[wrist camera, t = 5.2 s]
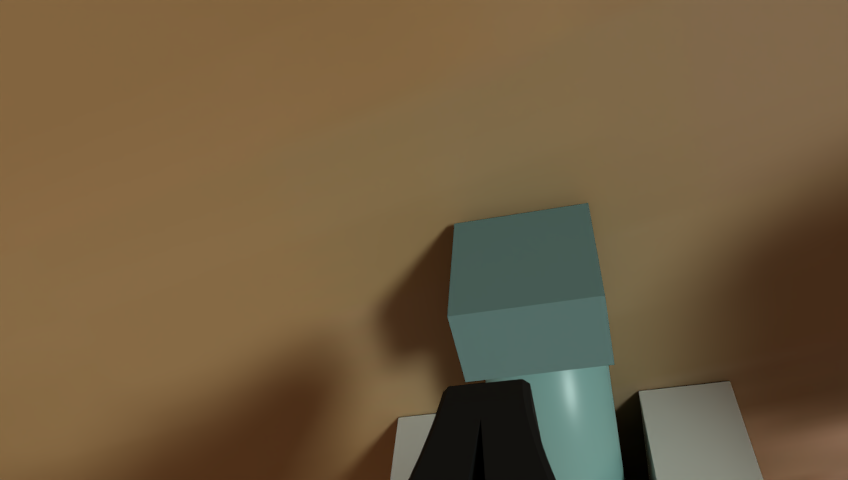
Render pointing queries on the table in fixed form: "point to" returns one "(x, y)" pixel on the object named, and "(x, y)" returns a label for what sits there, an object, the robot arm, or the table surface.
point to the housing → (652, 436)
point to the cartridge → (541, 329)
